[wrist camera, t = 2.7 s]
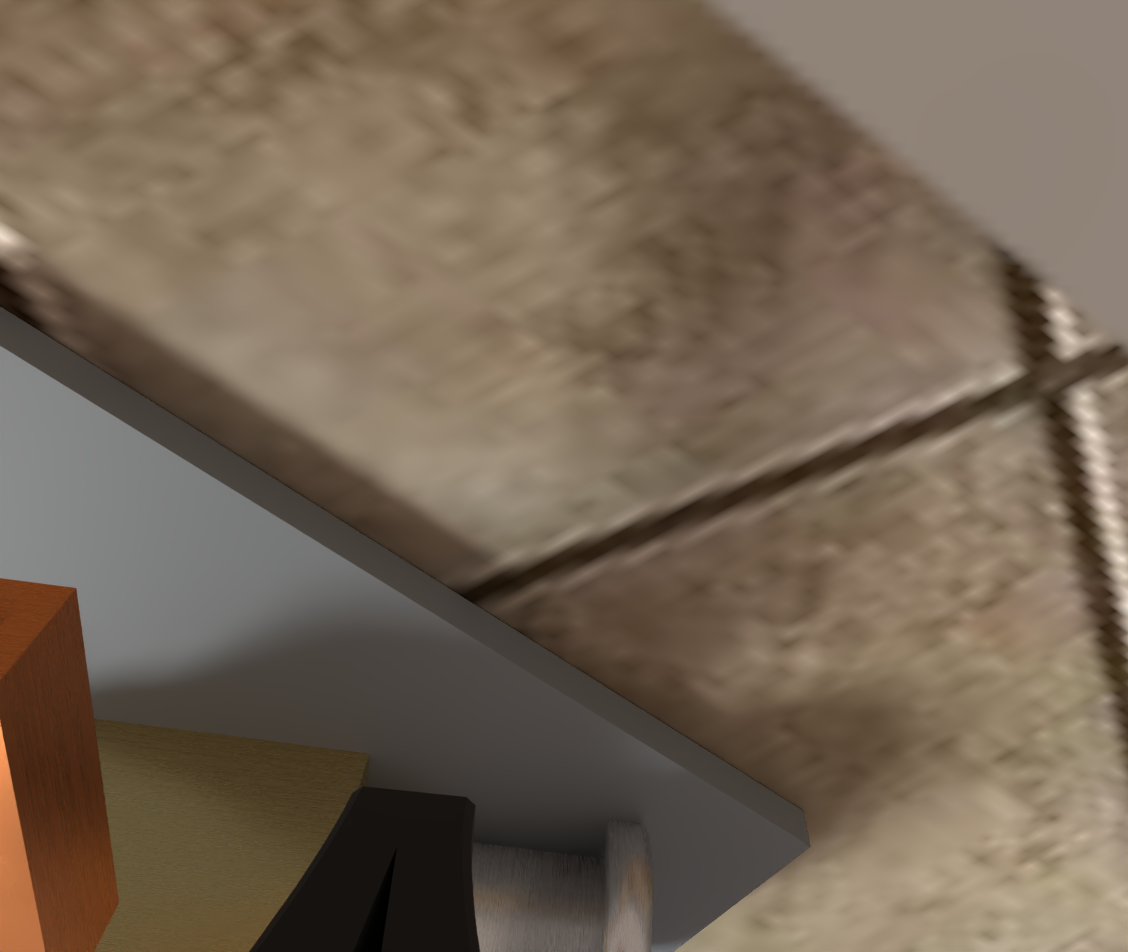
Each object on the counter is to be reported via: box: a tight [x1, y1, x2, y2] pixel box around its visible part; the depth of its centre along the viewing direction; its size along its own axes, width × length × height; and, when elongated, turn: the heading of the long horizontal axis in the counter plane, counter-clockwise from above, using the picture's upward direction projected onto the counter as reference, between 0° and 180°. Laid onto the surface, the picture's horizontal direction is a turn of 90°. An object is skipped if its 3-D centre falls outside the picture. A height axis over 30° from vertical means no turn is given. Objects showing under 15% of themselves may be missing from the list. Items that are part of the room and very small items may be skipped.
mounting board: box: [0, 307, 811, 952], centre depth 23 cm, size 20×16×1 cm
